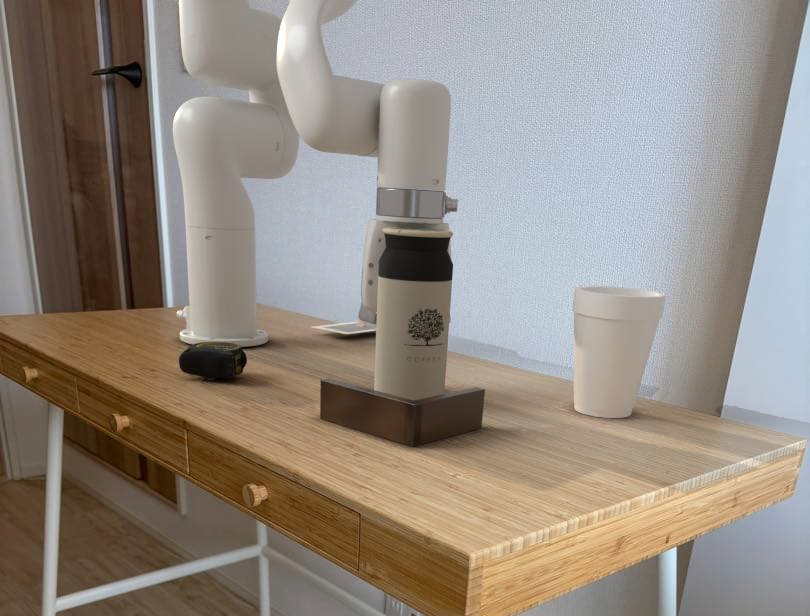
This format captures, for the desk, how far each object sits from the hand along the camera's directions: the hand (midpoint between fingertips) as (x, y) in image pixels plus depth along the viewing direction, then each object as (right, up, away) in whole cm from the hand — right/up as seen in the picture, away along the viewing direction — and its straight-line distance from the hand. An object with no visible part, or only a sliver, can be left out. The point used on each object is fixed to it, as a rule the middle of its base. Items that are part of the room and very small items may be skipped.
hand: (401, 373), depth 99 cm
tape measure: (-22, -1, 0) cm, 22 cm away
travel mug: (+1, -4, -4) cm, 6 cm away
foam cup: (+23, -5, -5) cm, 24 cm away
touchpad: (-7, +13, +35) cm, 38 cm away
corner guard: (+1, -8, -15) cm, 17 cm away
